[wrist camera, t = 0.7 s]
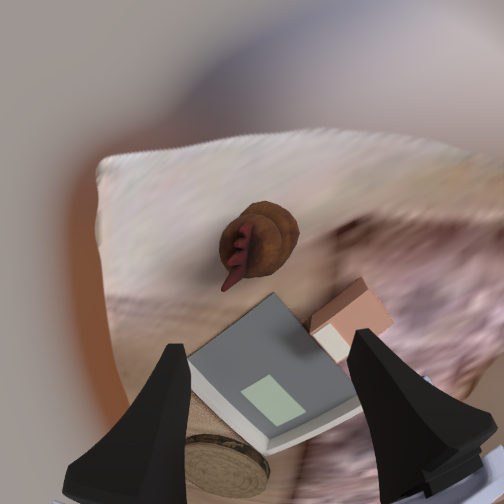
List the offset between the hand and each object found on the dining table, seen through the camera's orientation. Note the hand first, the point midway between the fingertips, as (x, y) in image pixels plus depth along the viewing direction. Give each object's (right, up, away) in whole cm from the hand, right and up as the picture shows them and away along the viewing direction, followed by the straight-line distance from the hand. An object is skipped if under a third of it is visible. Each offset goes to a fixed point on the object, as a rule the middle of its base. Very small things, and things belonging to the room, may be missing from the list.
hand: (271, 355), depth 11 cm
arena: (+2, -12, +23) cm, 26 cm away
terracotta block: (+10, -2, +19) cm, 22 cm away
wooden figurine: (+1, +6, +20) cm, 21 cm away
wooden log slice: (-5, -32, +28) cm, 42 cm away
